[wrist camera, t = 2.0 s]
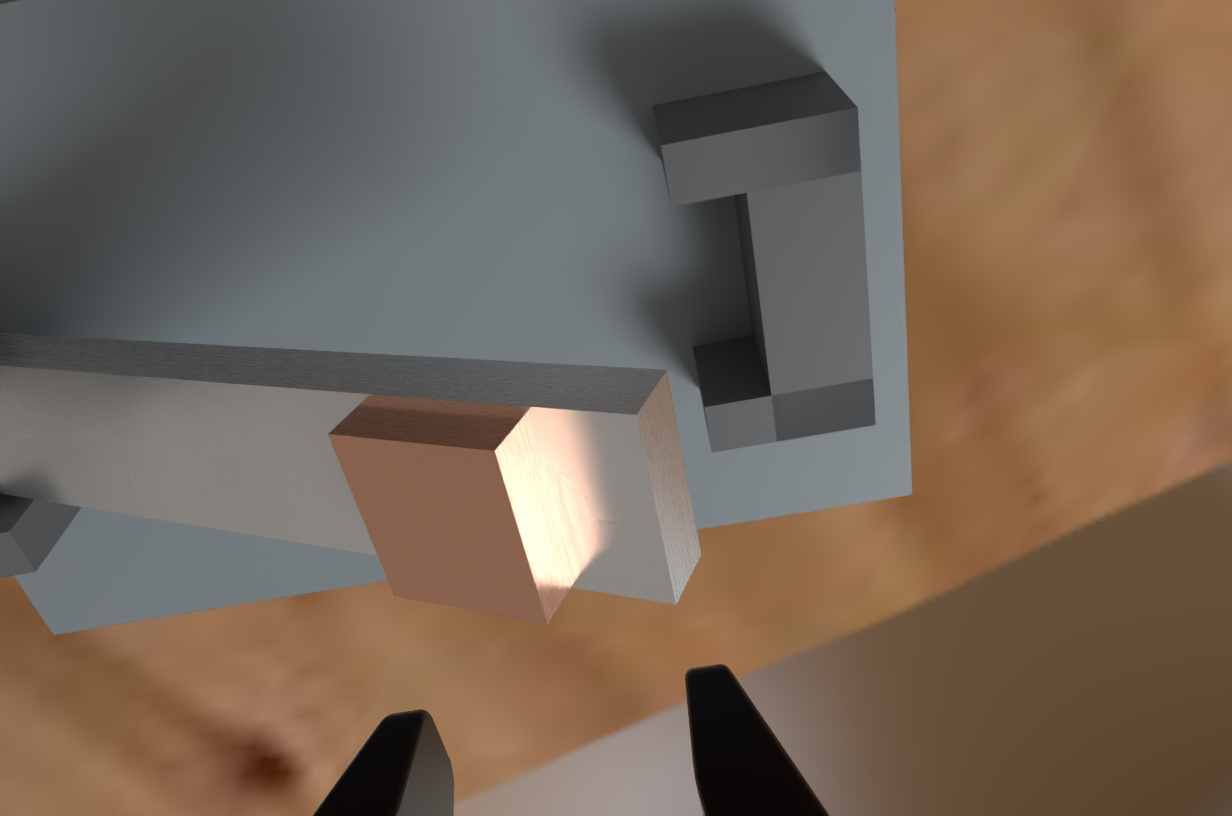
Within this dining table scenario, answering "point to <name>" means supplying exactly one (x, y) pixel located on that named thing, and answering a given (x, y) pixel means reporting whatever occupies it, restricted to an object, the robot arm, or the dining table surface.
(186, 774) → the dining table surface
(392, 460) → the light grey long bar
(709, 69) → the base plate
